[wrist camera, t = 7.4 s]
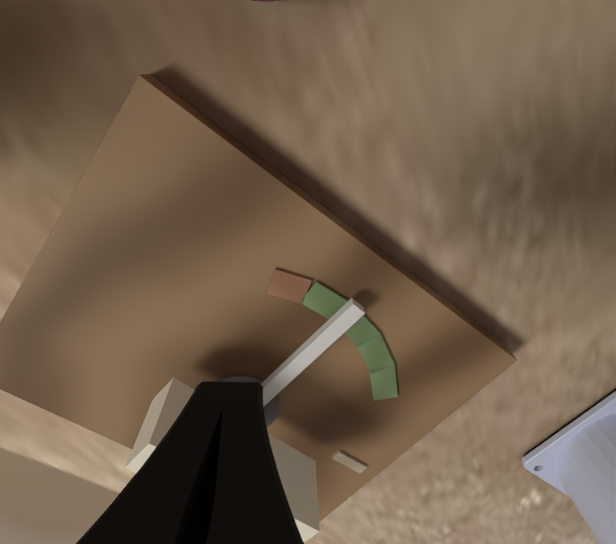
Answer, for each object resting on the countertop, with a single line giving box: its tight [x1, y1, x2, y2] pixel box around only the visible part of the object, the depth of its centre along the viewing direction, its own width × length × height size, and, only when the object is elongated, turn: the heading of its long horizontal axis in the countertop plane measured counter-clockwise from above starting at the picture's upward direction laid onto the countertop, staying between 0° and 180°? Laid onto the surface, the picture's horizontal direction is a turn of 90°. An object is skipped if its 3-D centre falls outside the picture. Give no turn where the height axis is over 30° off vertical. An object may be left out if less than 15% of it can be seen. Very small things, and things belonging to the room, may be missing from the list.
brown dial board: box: [0, 74, 517, 522], centre depth 20 cm, size 20×16×2 cm
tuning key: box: [125, 298, 365, 542], centre depth 17 cm, size 9×8×5 cm
